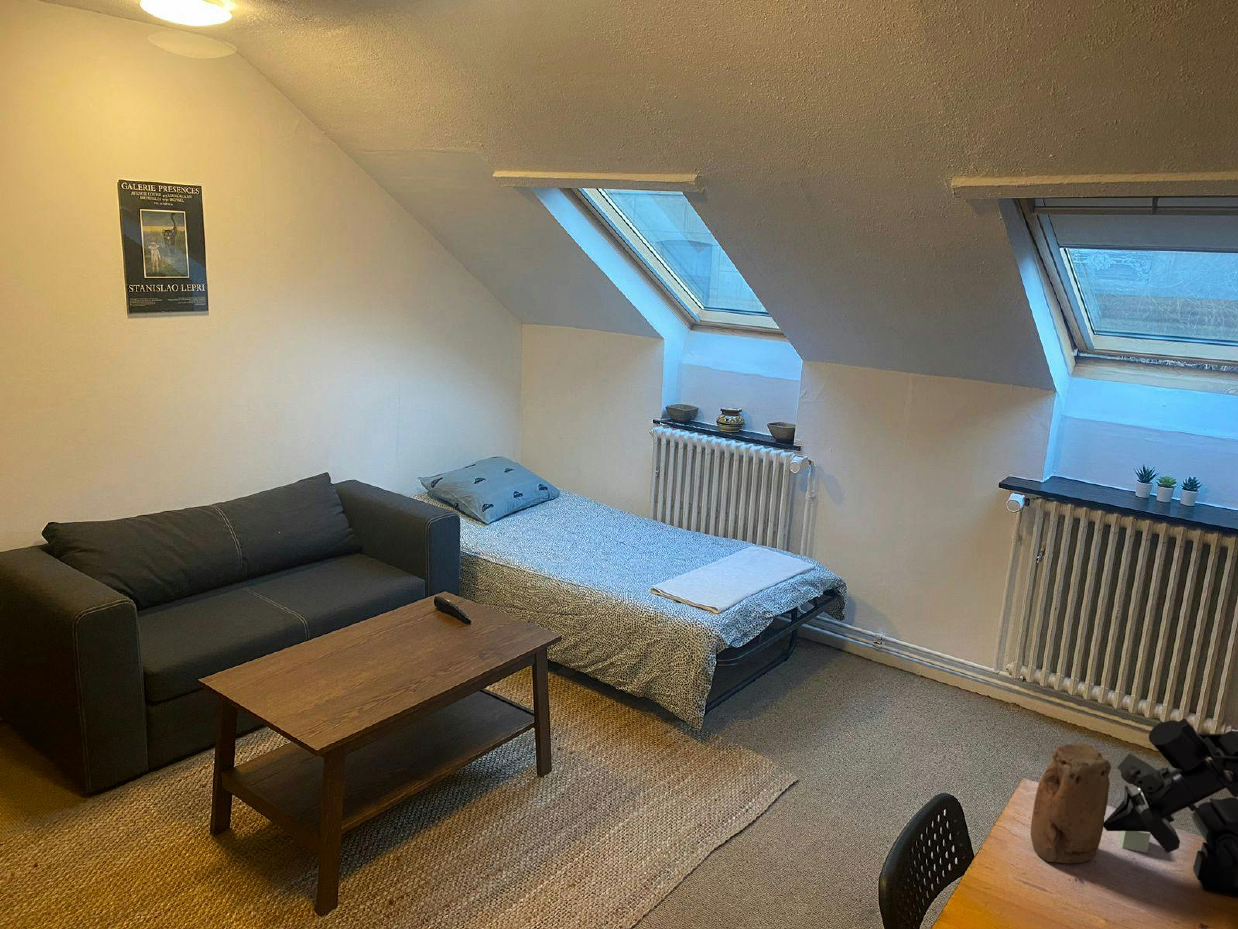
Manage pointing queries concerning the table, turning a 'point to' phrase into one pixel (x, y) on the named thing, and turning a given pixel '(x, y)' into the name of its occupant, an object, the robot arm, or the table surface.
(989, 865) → the table surface
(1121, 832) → the sage cube
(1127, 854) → the table surface
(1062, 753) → the brown stone
